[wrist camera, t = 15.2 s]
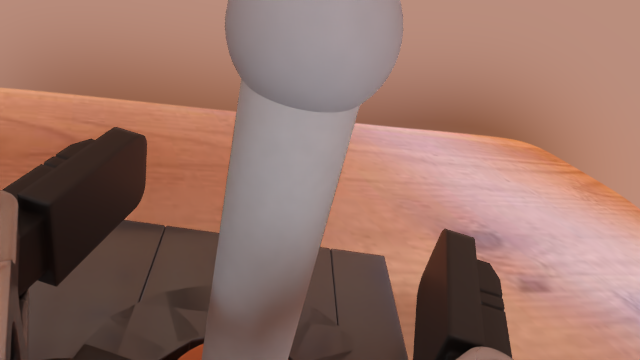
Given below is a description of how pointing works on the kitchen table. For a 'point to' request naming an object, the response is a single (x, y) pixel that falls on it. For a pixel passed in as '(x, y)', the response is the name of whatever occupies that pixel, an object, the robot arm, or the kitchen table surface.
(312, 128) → the stopper
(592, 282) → the kitchen table surface
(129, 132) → the robot arm
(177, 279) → the dark grey slab
